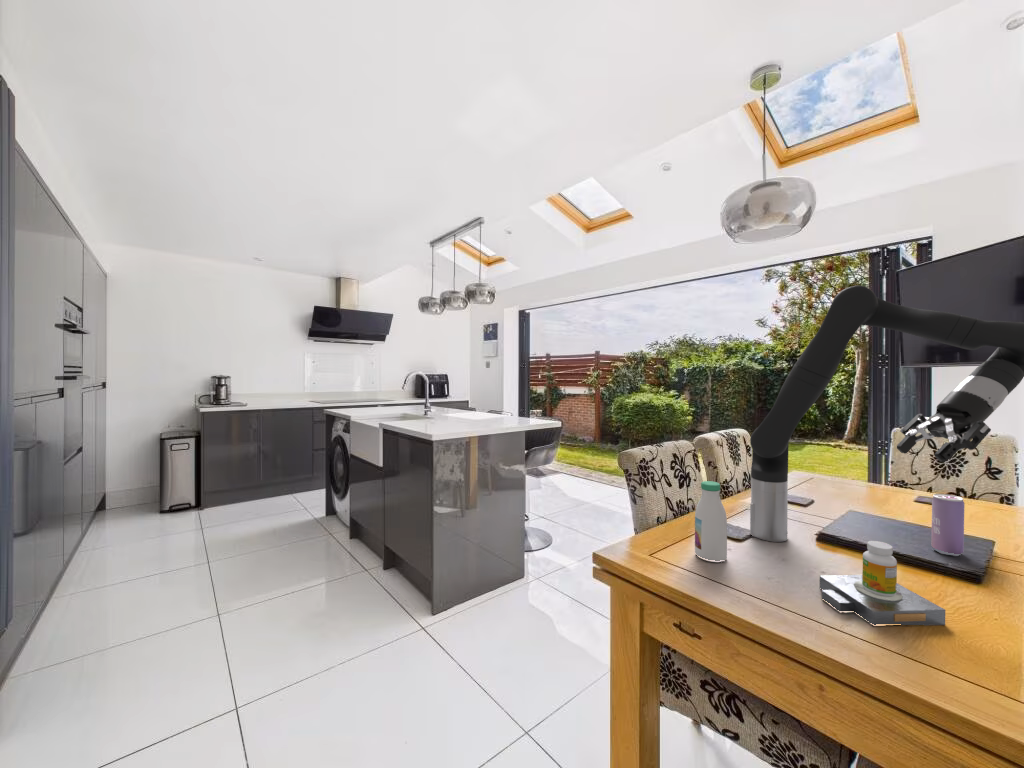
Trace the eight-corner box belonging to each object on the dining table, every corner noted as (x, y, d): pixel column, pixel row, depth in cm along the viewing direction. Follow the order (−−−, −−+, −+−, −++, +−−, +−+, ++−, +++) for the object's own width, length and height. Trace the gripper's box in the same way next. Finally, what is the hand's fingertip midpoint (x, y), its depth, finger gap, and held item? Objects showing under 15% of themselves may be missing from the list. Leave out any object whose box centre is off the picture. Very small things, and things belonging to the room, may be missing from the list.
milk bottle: (730, 556, 112) (730, 482, 111) (721, 566, 106) (721, 488, 105) (700, 548, 117) (700, 477, 116) (690, 557, 111) (690, 483, 111)
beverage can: (970, 558, 108) (971, 500, 108) (942, 556, 110) (943, 499, 109) (951, 548, 114) (952, 493, 114) (925, 547, 115) (926, 493, 115)
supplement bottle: (855, 584, 90) (856, 540, 90) (878, 582, 91) (878, 538, 90) (879, 598, 85) (880, 551, 84) (903, 596, 85) (904, 549, 85)
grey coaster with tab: (859, 627, 81) (859, 610, 81) (806, 589, 95) (806, 574, 95) (945, 625, 81) (946, 608, 81) (880, 587, 95) (881, 573, 95)
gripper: (927, 388, 98) (878, 437, 99) (998, 391, 84) (940, 449, 84) (949, 410, 99) (900, 459, 99) (1023, 417, 84) (966, 474, 85)
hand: (918, 454), depth 92 cm, fingers open, 8 cm apart
